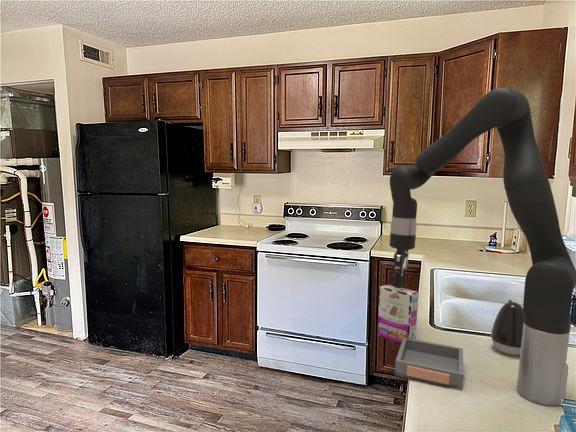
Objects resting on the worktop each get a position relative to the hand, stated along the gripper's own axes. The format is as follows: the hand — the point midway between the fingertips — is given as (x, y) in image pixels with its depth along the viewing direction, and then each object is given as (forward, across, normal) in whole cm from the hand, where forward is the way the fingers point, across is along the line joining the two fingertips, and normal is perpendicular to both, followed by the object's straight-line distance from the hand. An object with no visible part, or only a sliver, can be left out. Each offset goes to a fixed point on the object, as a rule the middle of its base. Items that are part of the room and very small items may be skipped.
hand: (399, 283), depth 124 cm
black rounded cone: (+18, +7, -32) cm, 38 cm away
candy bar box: (+18, 0, 0) cm, 18 cm away
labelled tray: (+18, -15, -11) cm, 26 cm away
